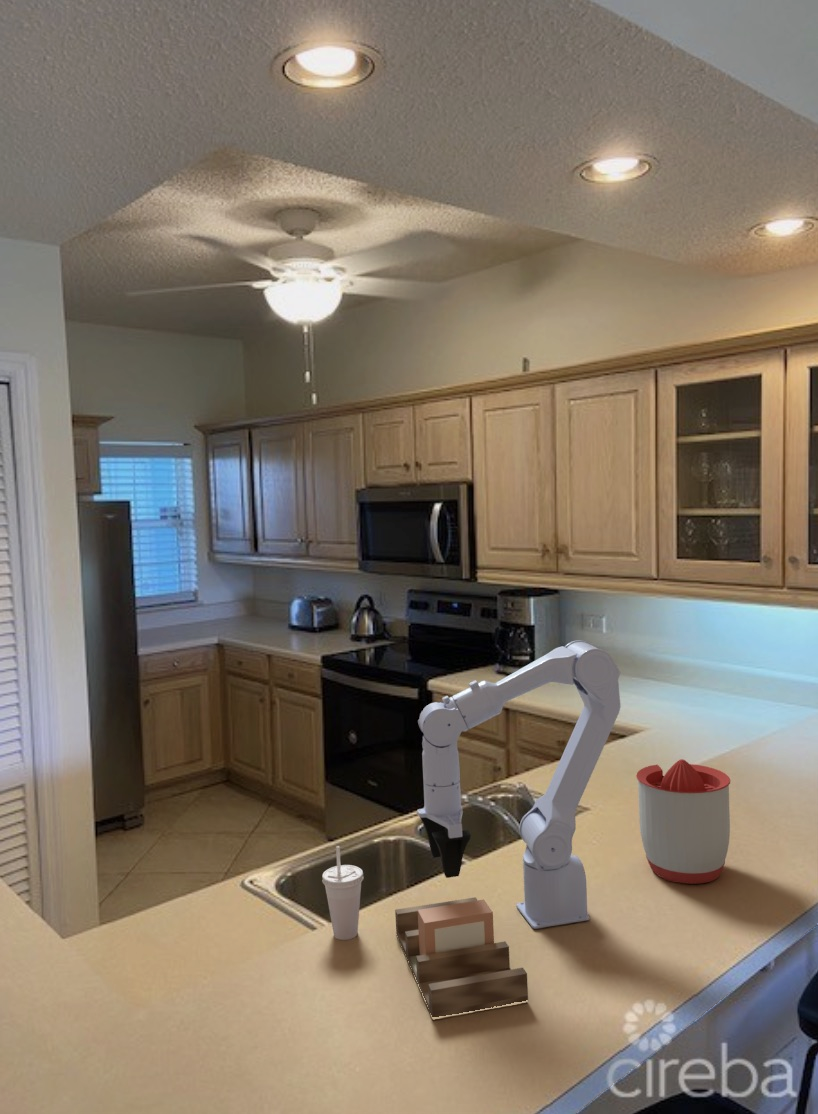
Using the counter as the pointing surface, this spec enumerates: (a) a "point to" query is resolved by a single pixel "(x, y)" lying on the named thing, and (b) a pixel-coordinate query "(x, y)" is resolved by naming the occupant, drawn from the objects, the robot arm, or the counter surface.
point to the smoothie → (343, 897)
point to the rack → (460, 970)
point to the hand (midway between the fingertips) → (445, 865)
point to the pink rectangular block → (455, 927)
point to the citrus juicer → (684, 821)
